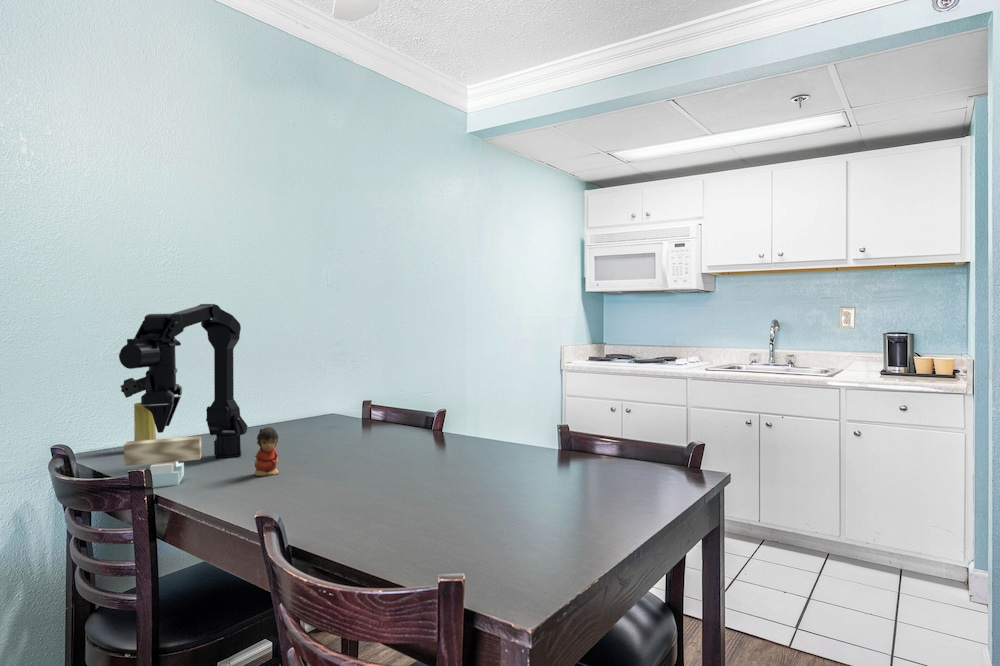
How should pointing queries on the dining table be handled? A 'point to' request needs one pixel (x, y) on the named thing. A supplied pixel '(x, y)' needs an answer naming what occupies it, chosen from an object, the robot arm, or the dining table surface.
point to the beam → (162, 450)
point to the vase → (143, 424)
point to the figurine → (266, 452)
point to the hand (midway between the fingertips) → (163, 429)
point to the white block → (167, 473)
